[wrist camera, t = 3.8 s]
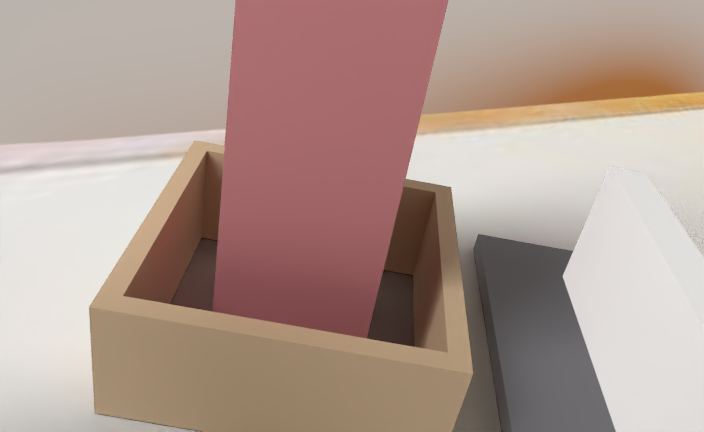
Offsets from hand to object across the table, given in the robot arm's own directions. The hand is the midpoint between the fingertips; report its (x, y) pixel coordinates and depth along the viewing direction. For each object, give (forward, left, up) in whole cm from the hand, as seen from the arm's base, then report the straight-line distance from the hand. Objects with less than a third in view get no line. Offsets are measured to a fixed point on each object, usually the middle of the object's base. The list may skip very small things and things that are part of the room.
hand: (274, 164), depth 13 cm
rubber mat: (-15, -13, -14) cm, 24 cm away
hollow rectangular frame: (-1, -11, -14) cm, 17 cm away
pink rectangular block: (-1, -11, -14) cm, 17 cm away
